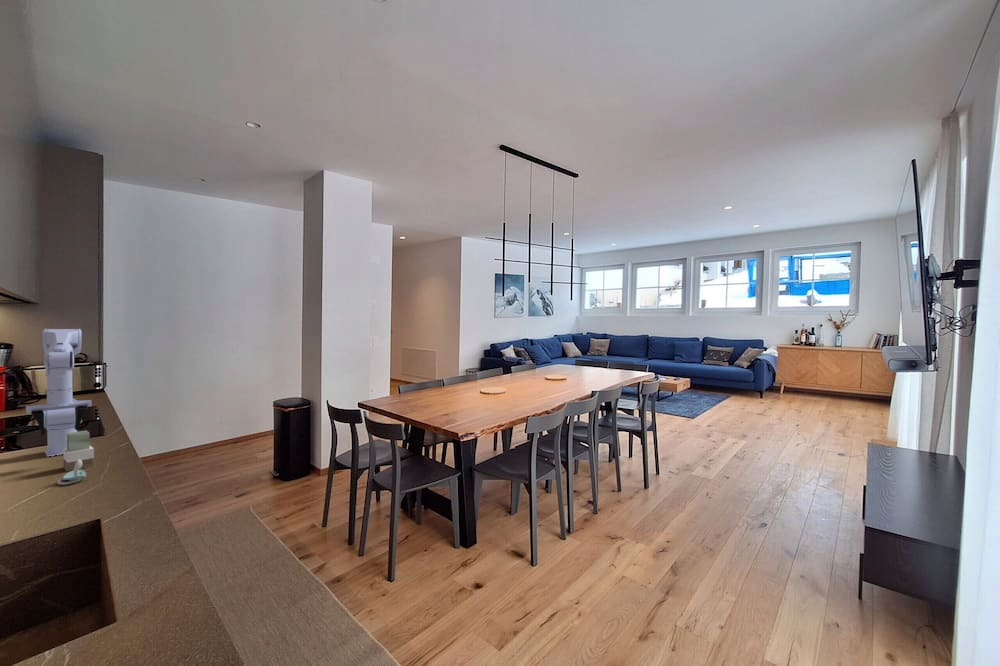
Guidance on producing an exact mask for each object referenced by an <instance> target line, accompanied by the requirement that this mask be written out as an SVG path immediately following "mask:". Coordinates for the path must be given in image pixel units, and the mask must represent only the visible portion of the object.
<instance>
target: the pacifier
mask: <svg viewBox="0 0 1000 666" xmlns="http://www.w3.org/2000/svg"><path fill="white" fill-rule="evenodd" d="M81 466H82V460H80V459H77V461H76V463H75V466H74V470H73V471H69V472H66V473H65V474H64V475H63V476H62V478H60V479H58V480H57V481H56V483H57V485H59V486H65V485H71V484H76V483H78V482H81V481H82V479H84V478H87V471H85V469H80V468H81ZM79 469H80V470H79Z"/></svg>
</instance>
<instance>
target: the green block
mask: <svg viewBox="0 0 1000 666" xmlns="http://www.w3.org/2000/svg"><path fill="white" fill-rule="evenodd" d="M90 434H91V433H90V432H89V431H88V430H81V431H80V430H79V431H77V432H72V433H67V450H68V451H69V452H72V451H78V450H84V449H90V446H91V443H90V442H91V441H90V440H91V439H90V437H91V436H90Z"/></svg>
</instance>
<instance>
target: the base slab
mask: <svg viewBox="0 0 1000 666" xmlns="http://www.w3.org/2000/svg"><path fill="white" fill-rule="evenodd" d="M75 463H76V461H74V462H68V463H67V462H66V461H65V460H64V459H63V469H64V468H65V469H64V471H65V470H66V471H69V472H71V470H74V466H75ZM92 466H93V467H94V458H91V459H85V460H82V466H81V468H80V470H84V469H83V468H85V469H89V468H88V467H90V468H93V467H92ZM66 471H65V472H66Z"/></svg>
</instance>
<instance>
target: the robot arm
mask: <svg viewBox="0 0 1000 666" xmlns="http://www.w3.org/2000/svg"><path fill="white" fill-rule="evenodd" d="M41 332H42V336H41V337H42V338H41V339H42V347H43V348H42V349H43V351H44V360H43V361H44V362H43V363H44V369H45V376H46V402H45V403H41V404H40V403H39V404H32V405H26V406H25V413H26V414H31V415H32V417H33V419H35V421H36V423H37V425H38V428H39V431H40V434H41V436H42V435H47V440H46V441H47V449H45V450H44V451H43V452H44V453H45V456H46V458H49V456H51V457H56V456H55V455H57V456H61V455H62V454H63V455H64V449H67V433H72V432H78V431H80V426H81V423H83V418H84V416H85V414H86V413H87V411H88V408H89V407H92V400H91V399H84V400H77V399H75V398H73V396H74V395H73V369H74V367H75V356H76V355H78V354H80V353H81V351H82V345H83V343H82V342H83V341H82V339H83V338H82V337H83V336H82V335H83V334H82V333H83V332H82V329H81V328H61V329H60V328H44V329H43V330H42V331H41ZM45 429H46V431H47V434H45V433H46V431H45Z"/></svg>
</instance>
